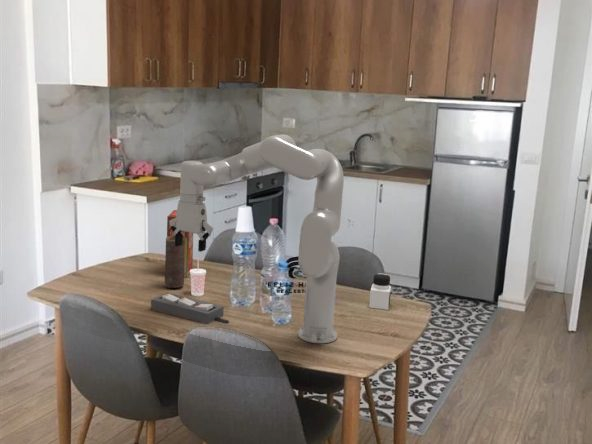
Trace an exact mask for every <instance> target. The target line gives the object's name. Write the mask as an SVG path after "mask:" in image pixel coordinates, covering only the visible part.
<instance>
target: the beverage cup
mask: <svg viewBox="0 0 592 444" xmlns="http://www.w3.org/2000/svg"><path fill="white" fill-rule="evenodd" d="M199 263H200V257H197V266H196V267H197V268H193V269H191V270H190V274H189V276H190V291H191V295H192V296H195V297H200V296H204V292H205V281H206V274H207V270H206V269H204V268H200V267H199V266H200V264H199Z"/></svg>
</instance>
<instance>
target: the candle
mask: <svg viewBox="0 0 592 444" xmlns="http://www.w3.org/2000/svg"><path fill="white" fill-rule="evenodd" d="M184 258H185V236H183V240H182V245H181V246H177V247H176V246H175V236H171V237H170V236H169V237H167V236H166V237H165V257H164V259H165V262H164V263H165V266H164V285H165V287H167V288H169V289H174V288H181V287H183V286H184V285H185V278H184Z"/></svg>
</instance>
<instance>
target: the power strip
mask: <svg viewBox="0 0 592 444" xmlns="http://www.w3.org/2000/svg"><path fill="white" fill-rule="evenodd" d="M166 294H171V295H173V296H175V297H177V298H180V299H182V298H187V299H189V300H191V301H194V302H196V304H195V305H193V306H186V305H182V304H178V301H176V302H170V301H166V300H163V299H162V296H164V295H166ZM199 304H213V308H212V309H210V310H207V311H206V310H202V309H198V308H195V306H197V305H199ZM150 309H151V310H153V311H158V312H161V313H165V314H168V315H173V316H176V317H180V318H184V319H189V320H191V321H195V322H198V323H203V324H207V325H209V324H211V323H212V322H215V321H218V322H222V323H225V324H229V323H230V320H229V319H226V318H222V317H224V311H225V310H224V305H220V304H216V303H212V302H207V301H203V300H200V299H199V300H198V299H195V298H192V297H191V298H190V297H188V296H184V295H180V294H175V293H171V292H165V293H163V294H161V295H158V296H156V297H153V298H150Z"/></svg>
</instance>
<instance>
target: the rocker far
mask: <svg viewBox="0 0 592 444" xmlns="http://www.w3.org/2000/svg"><path fill="white" fill-rule="evenodd" d="M171 294H172V293H171ZM171 294H166V295H164V296H162V299H163V300H166V301H170V302H176V301H178V300H180V298H177V297H175V296H173V295H171Z"/></svg>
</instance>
